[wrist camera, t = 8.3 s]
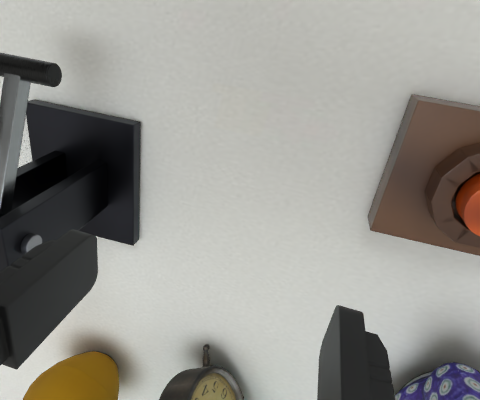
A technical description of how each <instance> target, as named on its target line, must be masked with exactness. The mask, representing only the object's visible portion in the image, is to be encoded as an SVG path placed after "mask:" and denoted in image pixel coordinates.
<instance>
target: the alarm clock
mask: <svg viewBox="0 0 480 400" xmlns="http://www.w3.org/2000/svg"><path fill="white" fill-rule="evenodd" d="M208 349H209V346H208V345H204V347H203V350H204V357H203V368H197V369H189V370H185V371H182V372H180V373H179V374H177V375H176V376H175V377H174V378H172V379H171V381H170V382H169V383H168V384H167V386H166V387H165V389H164V390H163V392H162V394H161V397H160V399H159V400H244V397H243V396H242V393H241V390H240V388H239V386H238V384H237V382H236V380H235V379H234V377H233V376H232V375H231V374H230V373H229V372H228V371H227V370H226V369H224V368H223V367H220V366H210V363H209V361H210V360H209V354H208Z"/></svg>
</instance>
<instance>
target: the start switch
mask: <svg viewBox="0 0 480 400" xmlns="http://www.w3.org/2000/svg"><path fill="white" fill-rule="evenodd" d="M478 174H480V106H474V105H469V104H463V103H458V102H452V101H447V100H441V99H436V98H430V97H425V96H419V95H414V94H412V95H411V98H410V100H409V103H408V106H407V109H406V112H405V114H404V117H403V120H402V123H401V126H400V128H399V131H398V134H397V137H396V140H395V142H394V145H393V148H392V151H391V153H390V156H389V159H388V162H387V165H386V167H385V170H384V173H383V176H382V179H381V181H380V184H379V187H378V190H377V193H376V195H375V198H374V201H373V204H372V206H371V209H370V212H369V215H368V221H369V226H370V230H371V231H375V232H379V233H384V234H388V235H392V236H397V237H401V238H405V239H410V240H414V241H418V242H423V243H427V244H431V245H436V246H440V247H444V248H449V249H453V250H457V251H462V252H466V253H470V254H474V255H479V256H480V236H478V235H476V234H474V233H473V232H472V231H470V230H469V229H468V227H467V226H466V224H465V223H464V221H463V220H462V218H461V217H460V215H459V214H458V212H457V209H456V204H455V203H456V196H457V194H458V192H459V190H460V188H461V187H462V186H463V185H464V184H465V183H466V182H467V181H468V180H469V179H471V178H472V177H474V176H476V175H478Z"/></svg>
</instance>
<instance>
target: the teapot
mask: <svg viewBox="0 0 480 400" xmlns="http://www.w3.org/2000/svg"><path fill="white" fill-rule="evenodd" d="M395 400H480V373H479V372H478V371H477V370H476V369H474V368H471V367H469V366H467V365H465V364H461V363H455V362H452V363H445V364H443V365H441V366H440V367H438V368H436V369H435V370H434V371H433V372H429V373H426V374H423V375H421V376H419V377H416V378H414V379H413V380H411V381H410V382H408V383H407V384H406V385H405V386H404V387H403V388H402V389H401V390H400V391H399V392H398V393H397V394H396V395H395Z"/></svg>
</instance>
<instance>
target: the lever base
mask: <svg viewBox="0 0 480 400" xmlns="http://www.w3.org/2000/svg"><path fill="white" fill-rule="evenodd" d="M26 116H27V124H28V131H29V138H30V146H31V153H32V160H33V161H32V162H30V163H28V164H25V165H23V166H21V167H19V168H18V169H17V176H16V183H15V189H14V196H13V202H12V209H11V212H9V213H7V214H6V215H4V216H2V217H1V218H0V272H1V271H2V270H4V269H5V268H6V267H8V266H11V264H12V263H13V262H15V261H16V260H17V259H19V258H22V256H23V255H24V254H25V253H27V252H28V251H30V250H31V249H32V248H34V247H35V246H37V245H40V244H42V243H45V242H47V241H50V240H57V239H59V238H60V237H61V236H63V235H64V234H65V233H67V232H68V231H69V230H72V229H74V230H78V231H81V232H85V233H88V234H92V235H94V236H98V237H102V238H106V239H110V240H114V241H118V242H121V243H125V244H129V245H134V244H135V243H136V242H137V241H138V240H139V184H140V122H138V121H133V120H128V119H124V118H119V117H114V116H109V115H105V114H100V113H95V112H90V111H86V110H81V109H76V108H71V107H67V106H62V105H57V104H53V103H48V102H43V101H38V100H31V101H28V104H27V110H26Z"/></svg>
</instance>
